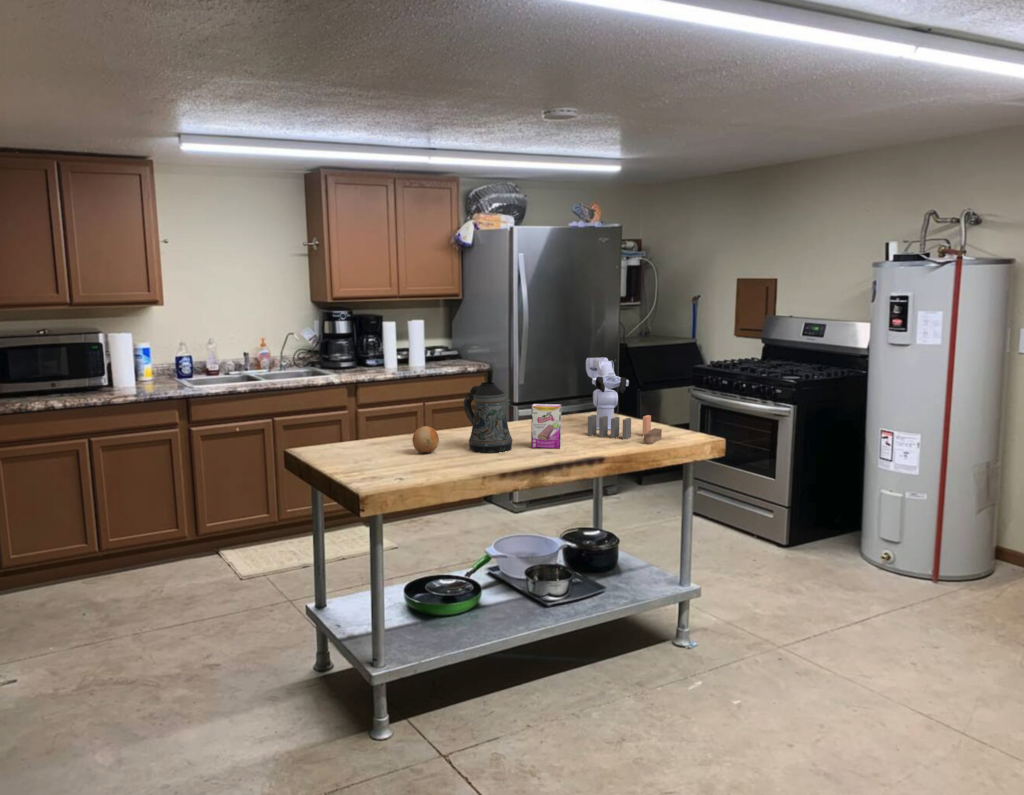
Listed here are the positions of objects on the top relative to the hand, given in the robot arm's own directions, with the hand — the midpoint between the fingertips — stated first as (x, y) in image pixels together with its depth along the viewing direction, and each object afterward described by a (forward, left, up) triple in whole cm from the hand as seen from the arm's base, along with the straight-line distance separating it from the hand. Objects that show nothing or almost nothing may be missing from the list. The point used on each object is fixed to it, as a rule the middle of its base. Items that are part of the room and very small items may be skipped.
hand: (613, 390), depth 316 cm
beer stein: (+25, -46, -19) cm, 56 cm away
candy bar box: (+20, -24, -19) cm, 37 cm away
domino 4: (0, +5, -19) cm, 20 cm away
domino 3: (-2, +1, -19) cm, 19 cm away
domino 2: (-4, -4, -19) cm, 20 cm away
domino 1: (-5, -9, -19) cm, 22 cm away
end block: (+3, +16, -19) cm, 25 cm away
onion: (+35, -67, -19) cm, 78 cm away
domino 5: (-7, +13, -19) cm, 24 cm away
